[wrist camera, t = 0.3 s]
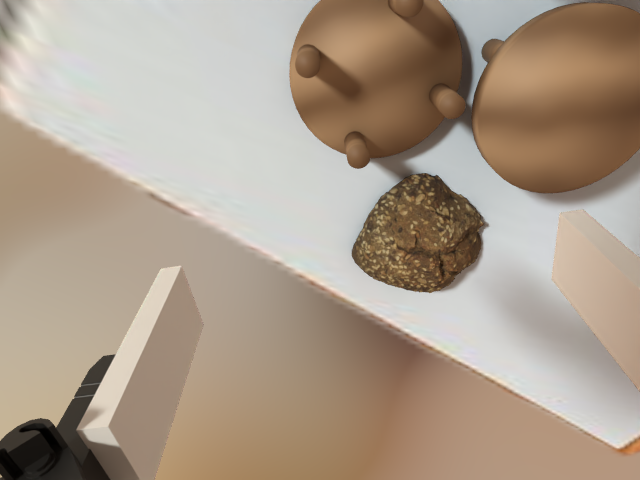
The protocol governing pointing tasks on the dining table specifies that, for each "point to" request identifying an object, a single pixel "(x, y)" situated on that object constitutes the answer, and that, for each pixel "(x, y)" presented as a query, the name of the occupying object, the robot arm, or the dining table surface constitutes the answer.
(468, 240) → the bread roll
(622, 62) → the footstool
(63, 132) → the dining table surface
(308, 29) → the upturned footstool
